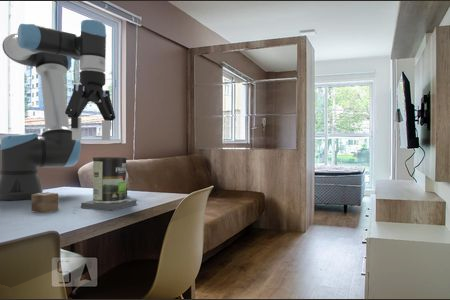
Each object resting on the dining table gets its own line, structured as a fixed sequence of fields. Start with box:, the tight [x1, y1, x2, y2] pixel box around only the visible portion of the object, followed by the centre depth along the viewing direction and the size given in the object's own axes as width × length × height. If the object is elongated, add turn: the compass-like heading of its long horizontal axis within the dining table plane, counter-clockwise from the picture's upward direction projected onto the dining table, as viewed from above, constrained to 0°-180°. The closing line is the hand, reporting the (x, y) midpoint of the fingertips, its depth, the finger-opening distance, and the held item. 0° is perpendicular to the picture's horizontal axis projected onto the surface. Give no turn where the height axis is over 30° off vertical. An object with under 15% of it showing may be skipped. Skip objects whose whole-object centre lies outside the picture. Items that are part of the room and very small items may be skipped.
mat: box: [80, 198, 137, 211], centre depth 113 cm, size 12×12×2 cm
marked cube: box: [30, 191, 59, 214], centre depth 104 cm, size 5×5×5 cm
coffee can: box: [92, 156, 128, 204], centre depth 113 cm, size 10×10×14 cm
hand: (92, 140), depth 110 cm, fingers open, 13 cm apart
